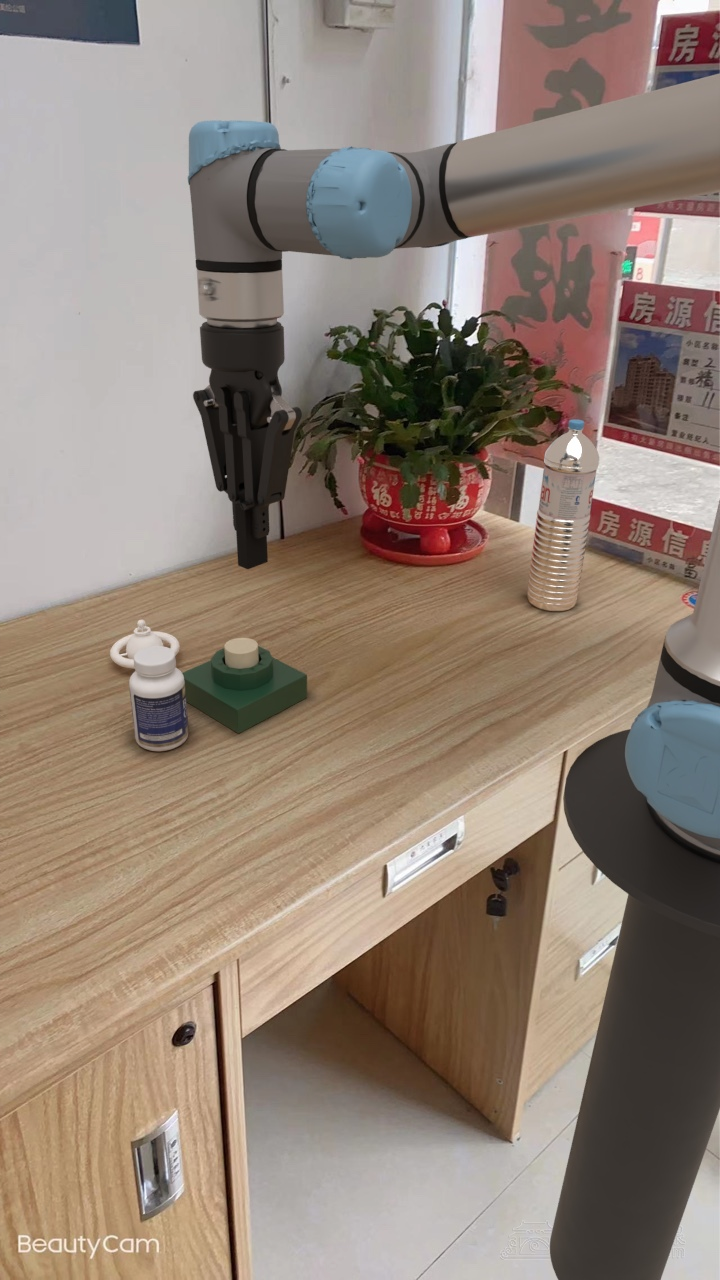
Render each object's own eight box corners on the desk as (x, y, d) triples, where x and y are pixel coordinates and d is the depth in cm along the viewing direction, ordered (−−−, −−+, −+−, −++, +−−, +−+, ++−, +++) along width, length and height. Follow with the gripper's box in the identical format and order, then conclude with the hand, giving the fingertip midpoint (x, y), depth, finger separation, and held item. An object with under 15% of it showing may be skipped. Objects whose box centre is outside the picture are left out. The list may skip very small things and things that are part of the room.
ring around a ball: (173, 680, 101) (187, 646, 108) (167, 636, 98) (182, 604, 105) (104, 680, 101) (122, 646, 108) (96, 636, 98) (115, 604, 105)
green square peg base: (307, 697, 98) (307, 658, 96) (238, 734, 92) (236, 693, 89) (248, 666, 104) (246, 628, 102) (179, 697, 98) (176, 658, 95)
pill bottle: (198, 742, 90) (191, 659, 86) (148, 759, 87) (139, 674, 83) (175, 717, 94) (168, 637, 89) (127, 733, 91) (117, 651, 87)
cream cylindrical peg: (265, 661, 96) (265, 645, 95) (240, 673, 93) (239, 657, 92) (243, 650, 98) (243, 634, 97) (218, 661, 96) (217, 645, 95)
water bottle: (567, 617, 117) (595, 431, 106) (518, 605, 120) (541, 422, 108) (582, 598, 123) (611, 419, 111) (536, 587, 126) (559, 411, 114)
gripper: (163, 316, 80) (183, 556, 91) (258, 333, 73) (268, 593, 84) (226, 309, 85) (239, 537, 96) (322, 324, 78) (324, 571, 89)
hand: (252, 563), depth 90 cm, fingers closed
